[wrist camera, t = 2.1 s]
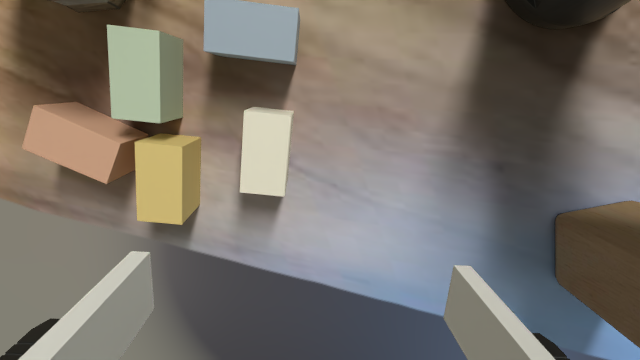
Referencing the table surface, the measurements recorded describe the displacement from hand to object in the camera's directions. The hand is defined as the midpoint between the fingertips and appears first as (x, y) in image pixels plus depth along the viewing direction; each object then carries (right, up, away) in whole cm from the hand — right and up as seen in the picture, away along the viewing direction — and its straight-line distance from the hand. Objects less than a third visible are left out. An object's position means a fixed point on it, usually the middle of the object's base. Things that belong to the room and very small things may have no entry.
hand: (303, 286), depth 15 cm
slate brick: (-6, +19, +21) cm, 29 cm away
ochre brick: (-15, +6, +24) cm, 29 cm away
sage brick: (-16, +16, +21) cm, 31 cm away
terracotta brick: (-23, +9, +23) cm, 34 cm away
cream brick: (-5, +9, +24) cm, 26 cm away
